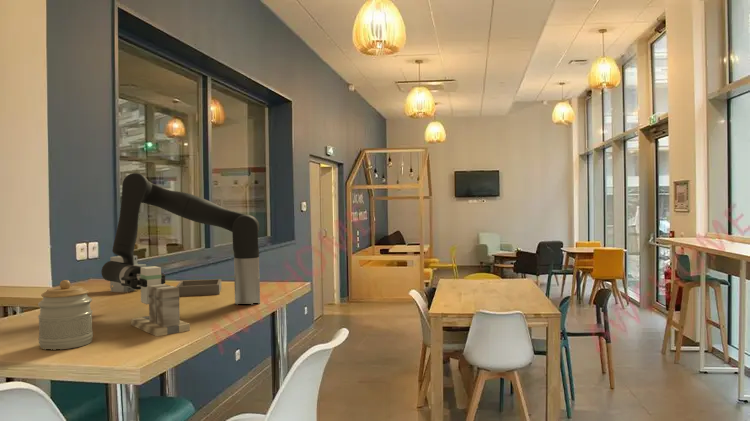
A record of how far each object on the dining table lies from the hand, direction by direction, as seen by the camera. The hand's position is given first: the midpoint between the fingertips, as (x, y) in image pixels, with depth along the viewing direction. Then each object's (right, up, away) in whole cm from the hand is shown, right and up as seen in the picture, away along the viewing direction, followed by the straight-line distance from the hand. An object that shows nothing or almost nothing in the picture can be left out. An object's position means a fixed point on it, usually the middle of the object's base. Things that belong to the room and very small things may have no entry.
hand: (154, 282), depth 172 cm
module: (-2, -6, +2) cm, 7 cm away
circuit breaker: (-38, -13, +70) cm, 81 cm away
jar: (-16, -14, -21) cm, 30 cm away
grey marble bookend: (+2, -14, -2) cm, 14 cm away
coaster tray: (-6, -12, +64) cm, 65 cm away
